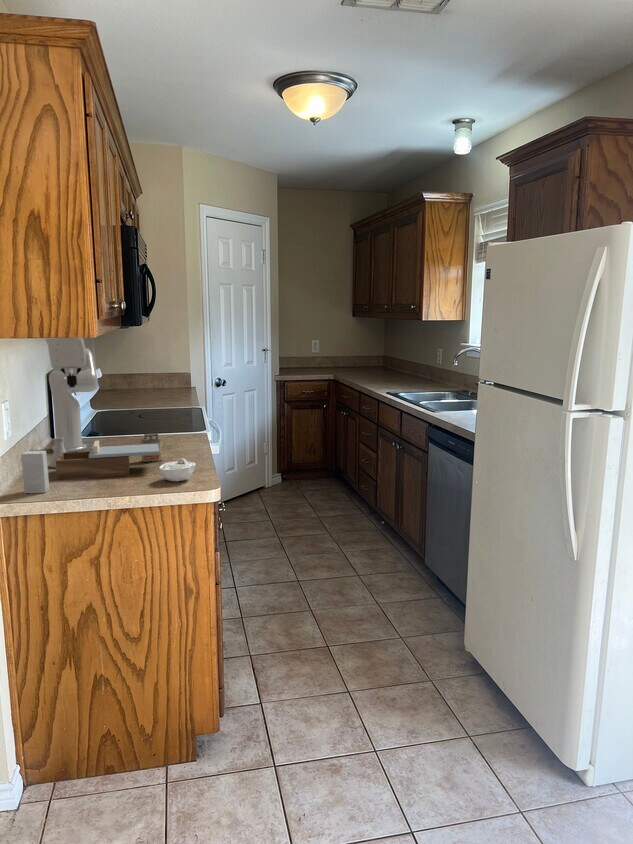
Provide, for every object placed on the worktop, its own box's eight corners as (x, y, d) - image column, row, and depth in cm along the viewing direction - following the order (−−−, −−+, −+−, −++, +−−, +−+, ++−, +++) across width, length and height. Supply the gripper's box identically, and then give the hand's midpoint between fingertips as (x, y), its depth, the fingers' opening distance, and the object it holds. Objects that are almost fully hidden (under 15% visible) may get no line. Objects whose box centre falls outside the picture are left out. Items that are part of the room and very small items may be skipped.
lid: (91, 450, 212) (91, 439, 211) (158, 446, 218) (157, 436, 217) (88, 458, 199) (88, 447, 199) (159, 454, 205) (158, 443, 205)
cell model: (152, 481, 196) (151, 460, 195) (183, 474, 205) (182, 454, 204) (172, 487, 189) (171, 465, 188) (202, 479, 198) (202, 458, 197)
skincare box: (49, 489, 186) (46, 450, 184) (45, 493, 182) (42, 453, 180) (28, 490, 186) (25, 450, 184) (23, 494, 181) (20, 454, 179)
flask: (65, 462, 221) (63, 435, 219) (75, 465, 216) (74, 437, 214) (45, 466, 215) (43, 438, 214) (56, 469, 211) (54, 440, 209)
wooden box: (61, 469, 210) (60, 452, 209) (129, 465, 216) (128, 448, 215) (57, 479, 198) (55, 461, 197) (129, 474, 204) (128, 456, 203)
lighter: (141, 462, 221) (140, 435, 219) (141, 460, 225) (140, 433, 223) (162, 461, 223) (161, 434, 221) (161, 459, 226) (160, 432, 225)
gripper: (43, 334, 208) (47, 389, 211) (91, 334, 212) (94, 387, 215) (47, 333, 215) (50, 386, 218) (92, 333, 219) (95, 385, 222)
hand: (72, 386), depth 217 cm, fingers closed
